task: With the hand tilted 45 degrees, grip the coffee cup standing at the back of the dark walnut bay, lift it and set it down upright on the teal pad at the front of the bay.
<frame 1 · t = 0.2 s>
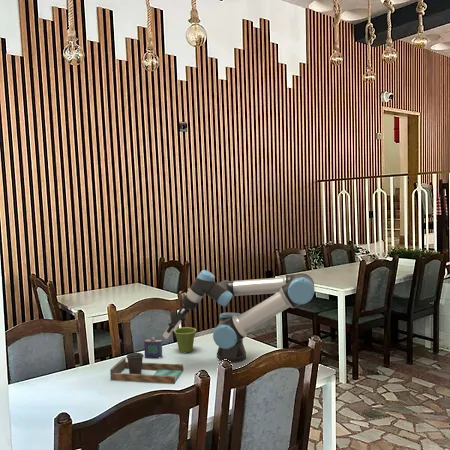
hand: (168, 333, 245), 16 cm above the table, tool tilted 35°, fingers open, 13 cm apart
coffee cup: (135, 375, 233), resting in bay
flask: (153, 357, 257), on the table
plant pot: (185, 351, 266), on the table
bay: (147, 375, 232), on the table
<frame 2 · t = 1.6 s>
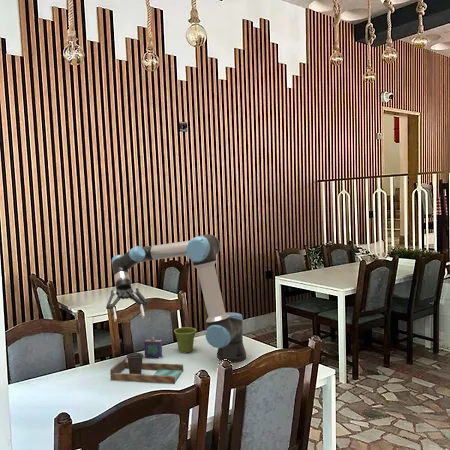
hand: (129, 318, 241), 24 cm above the table, tool tilted 45°, fingers open, 13 cm apart
nothing on the table moved.
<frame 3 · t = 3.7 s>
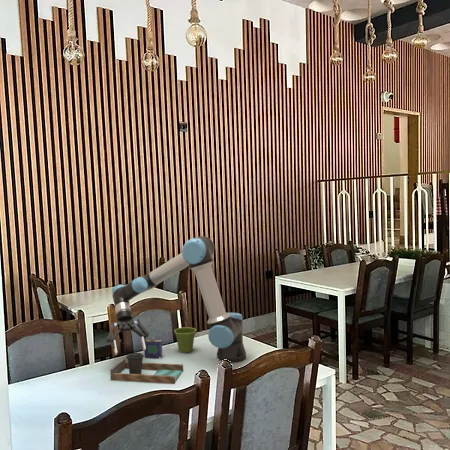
hand: (130, 351, 237), 10 cm above the table, tool tilted 45°, fingers open, 13 cm apart
nothing on the table moved.
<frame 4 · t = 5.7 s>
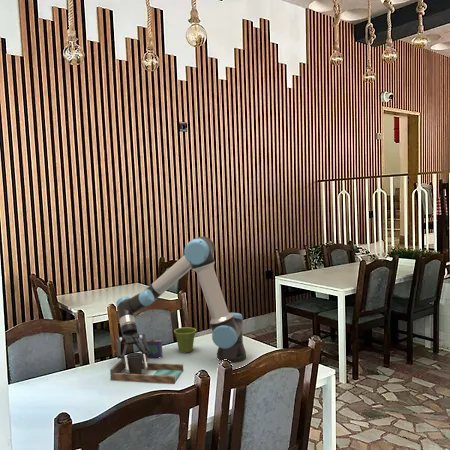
hand: (136, 369, 230), 4 cm above the table, tool tilted 45°, fingers closed on coffee cup, 8 cm apart
coffee cup: (135, 375, 233), resting in bay, touching gripper
everything else where it was.
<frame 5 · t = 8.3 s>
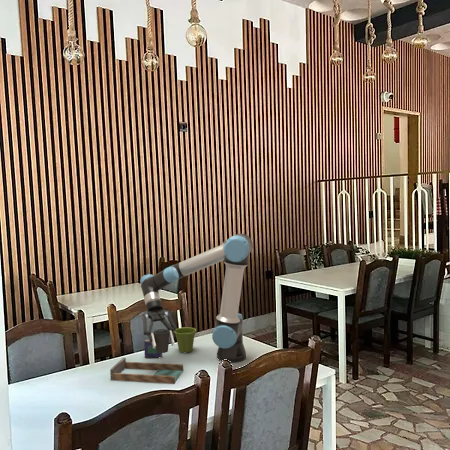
hand: (163, 345, 227), 15 cm above the table, tool tilted 45°, fingers closed on coffee cup, 8 cm apart
coffee cup: (162, 351, 230), point 12 cm above the table, touching gripper
everything else where it was.
when the fingers open (5 cm above the table, at t = 10.9 s): coffee cup stays where it is, resting on bay.
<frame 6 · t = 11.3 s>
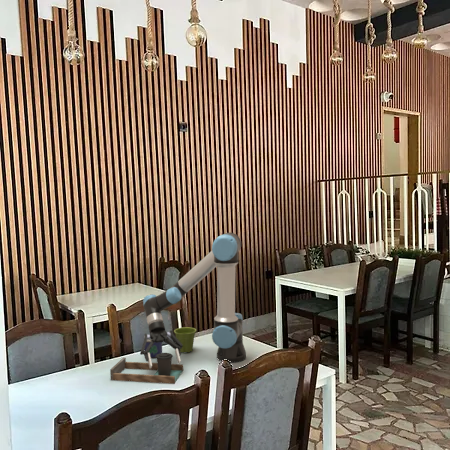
hand: (165, 364, 228), 6 cm above the table, tool tilted 45°, fingers open, 13 cm apart
coffee cup: (164, 375, 231), resting on bay
everything else where it was.
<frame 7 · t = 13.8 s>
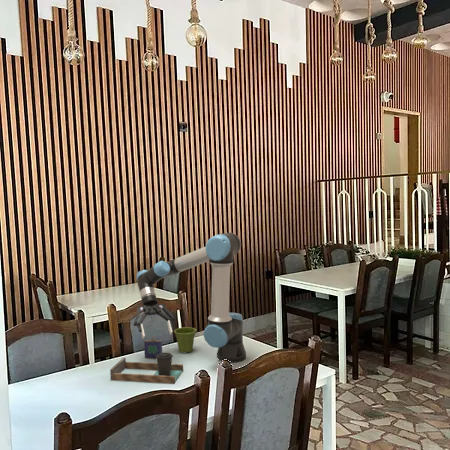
hand: (157, 335, 240), 16 cm above the table, tool tilted 45°, fingers open, 13 cm apart
nothing on the table moved.
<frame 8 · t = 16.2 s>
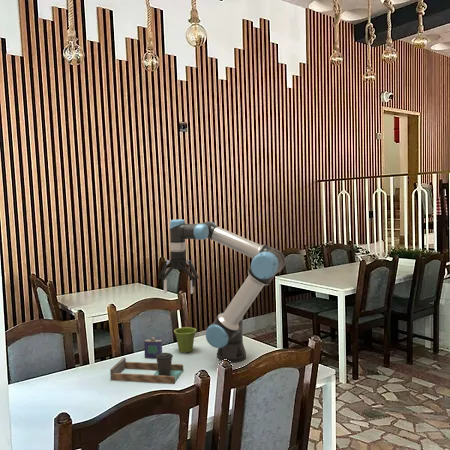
hand: (178, 292, 249), 35 cm above the table, tool pointing down, fingers open, 13 cm apart
nothing on the table moved.
at the end: coffee cup inside the target area on the bay (0.1 cm from its centre), point 0.3 cm above the bay's base; coffee cup tilted 0°; the gripper is holding nothing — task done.
